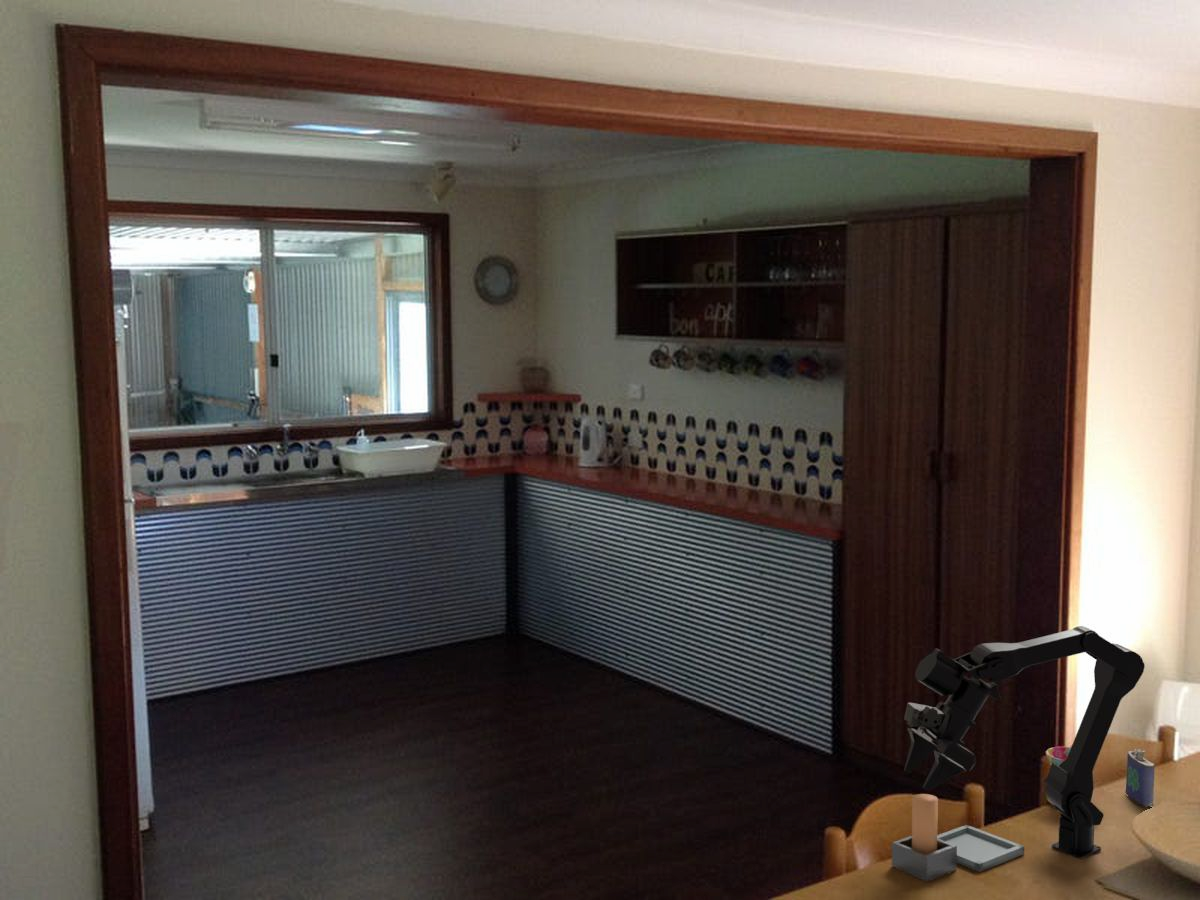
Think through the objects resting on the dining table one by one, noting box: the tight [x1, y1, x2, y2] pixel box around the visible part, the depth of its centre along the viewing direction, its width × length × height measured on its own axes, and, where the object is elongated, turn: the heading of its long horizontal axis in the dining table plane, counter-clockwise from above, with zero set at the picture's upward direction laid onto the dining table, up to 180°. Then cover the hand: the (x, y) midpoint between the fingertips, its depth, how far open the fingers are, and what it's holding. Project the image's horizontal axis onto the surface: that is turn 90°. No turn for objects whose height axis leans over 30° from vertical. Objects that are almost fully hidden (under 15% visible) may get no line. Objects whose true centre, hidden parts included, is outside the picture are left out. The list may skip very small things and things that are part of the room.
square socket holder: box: [891, 835, 958, 883], centre depth 232 cm, size 8×8×4 cm
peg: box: [911, 793, 939, 854], centre depth 231 cm, size 4×4×13 cm
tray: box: [937, 824, 1025, 873], centre depth 239 cm, size 13×13×2 cm
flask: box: [1124, 748, 1156, 809], centre depth 263 cm, size 9×3×11 cm, turn 2°
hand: (915, 780), depth 234 cm, fingers open, 9 cm apart
